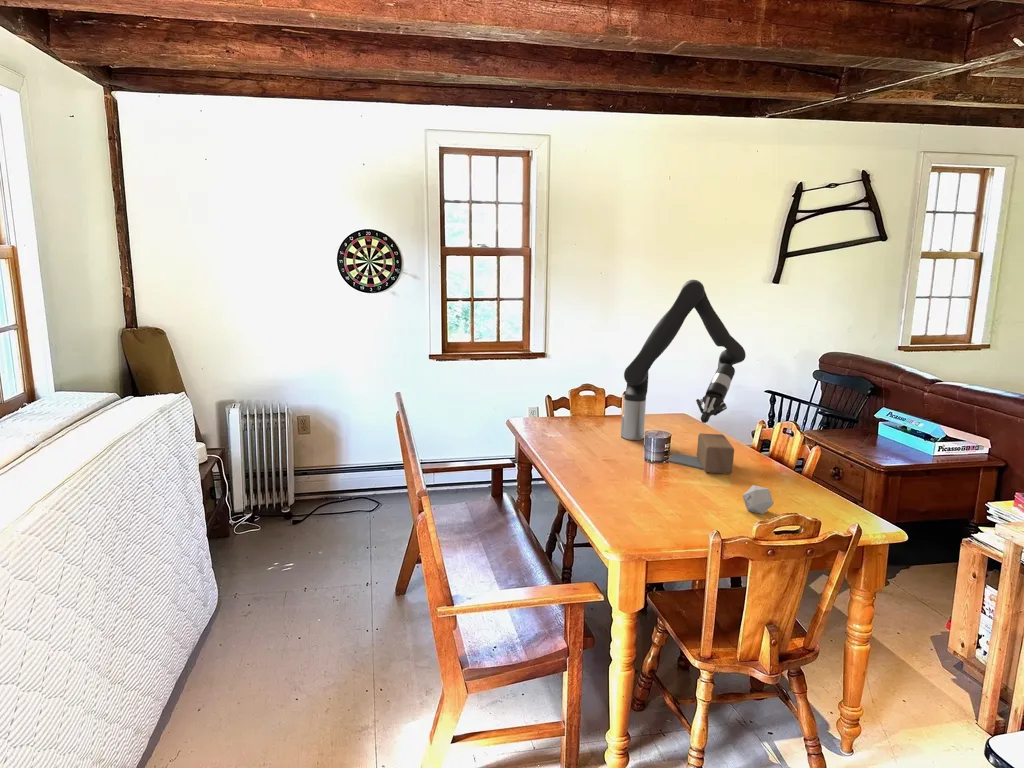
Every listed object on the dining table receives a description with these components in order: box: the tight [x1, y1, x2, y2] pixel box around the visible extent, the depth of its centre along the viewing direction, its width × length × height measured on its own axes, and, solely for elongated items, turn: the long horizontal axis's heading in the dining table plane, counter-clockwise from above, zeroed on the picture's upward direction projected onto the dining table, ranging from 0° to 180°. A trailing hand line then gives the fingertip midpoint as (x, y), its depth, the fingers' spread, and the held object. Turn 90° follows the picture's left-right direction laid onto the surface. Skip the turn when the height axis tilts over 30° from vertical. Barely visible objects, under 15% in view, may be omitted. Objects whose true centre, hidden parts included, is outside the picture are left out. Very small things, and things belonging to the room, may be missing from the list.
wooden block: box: [696, 433, 735, 474], centre depth 257 cm, size 10×10×20 cm
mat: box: [667, 452, 705, 471], centre depth 264 cm, size 20×12×1 cm, turn 49°
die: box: [741, 484, 774, 515], centre depth 212 cm, size 8×9×10 cm
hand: (703, 421), depth 267 cm, fingers closed
